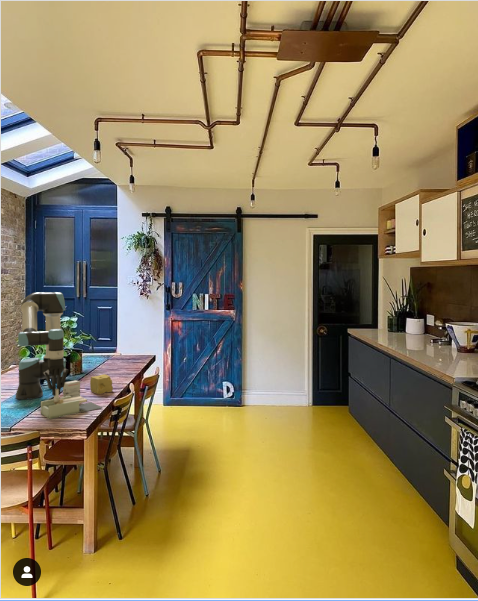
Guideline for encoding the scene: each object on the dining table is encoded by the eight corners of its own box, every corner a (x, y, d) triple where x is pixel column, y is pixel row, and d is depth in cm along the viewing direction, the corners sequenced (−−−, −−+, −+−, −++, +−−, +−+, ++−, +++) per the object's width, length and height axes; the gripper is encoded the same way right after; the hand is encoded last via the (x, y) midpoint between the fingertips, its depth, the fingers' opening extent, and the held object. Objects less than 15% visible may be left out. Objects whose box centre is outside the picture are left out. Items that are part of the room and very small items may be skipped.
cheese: (112, 391, 272) (112, 376, 272) (97, 394, 264) (97, 379, 264) (104, 388, 279) (104, 373, 279) (89, 391, 271) (89, 376, 271)
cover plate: (53, 403, 229) (53, 396, 229) (80, 398, 240) (80, 392, 239) (59, 407, 223) (59, 400, 223) (87, 401, 233) (86, 395, 233)
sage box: (40, 413, 226) (40, 401, 226) (70, 407, 237) (70, 395, 237) (49, 419, 217) (49, 406, 217) (79, 412, 229) (79, 400, 228)
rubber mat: (71, 406, 239) (71, 406, 239) (91, 402, 247) (91, 402, 247) (81, 412, 229) (81, 411, 229) (102, 408, 237) (102, 407, 237)
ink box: (76, 398, 255) (76, 379, 254) (80, 400, 252) (80, 381, 251) (62, 401, 248) (62, 382, 248) (66, 403, 245) (66, 383, 244)
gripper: (46, 360, 217) (46, 404, 218) (70, 357, 226) (71, 400, 227) (41, 358, 223) (41, 401, 224) (65, 355, 232) (65, 397, 233)
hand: (56, 400), depth 226 cm, fingers closed
